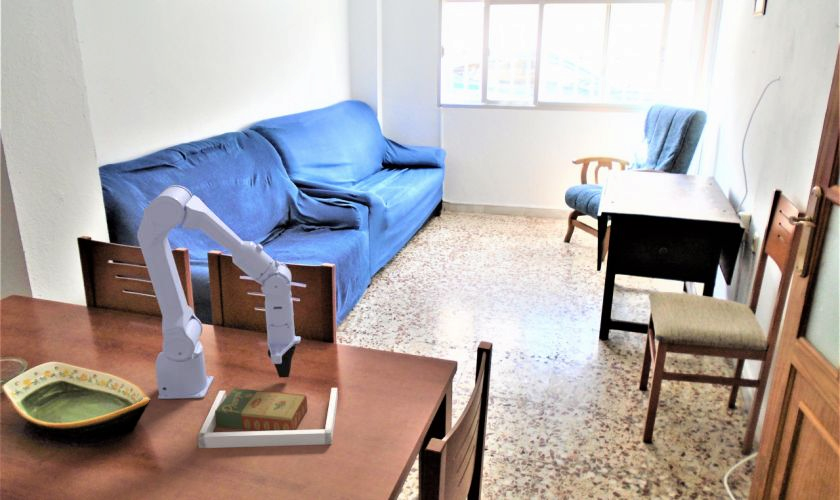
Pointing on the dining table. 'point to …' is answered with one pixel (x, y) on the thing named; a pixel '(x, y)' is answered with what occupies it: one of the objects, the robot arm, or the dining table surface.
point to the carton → (261, 410)
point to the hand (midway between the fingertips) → (284, 375)
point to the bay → (266, 437)
